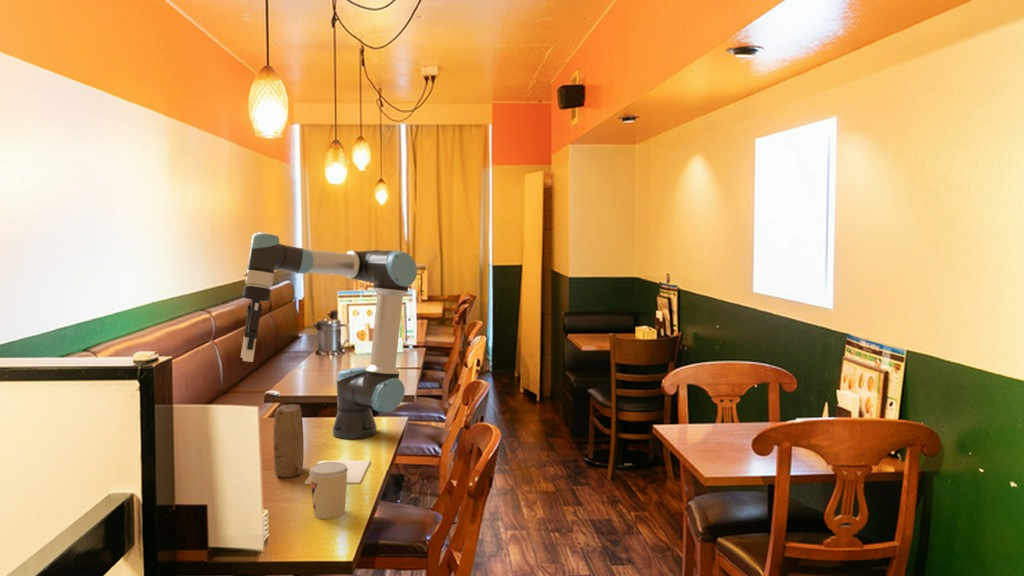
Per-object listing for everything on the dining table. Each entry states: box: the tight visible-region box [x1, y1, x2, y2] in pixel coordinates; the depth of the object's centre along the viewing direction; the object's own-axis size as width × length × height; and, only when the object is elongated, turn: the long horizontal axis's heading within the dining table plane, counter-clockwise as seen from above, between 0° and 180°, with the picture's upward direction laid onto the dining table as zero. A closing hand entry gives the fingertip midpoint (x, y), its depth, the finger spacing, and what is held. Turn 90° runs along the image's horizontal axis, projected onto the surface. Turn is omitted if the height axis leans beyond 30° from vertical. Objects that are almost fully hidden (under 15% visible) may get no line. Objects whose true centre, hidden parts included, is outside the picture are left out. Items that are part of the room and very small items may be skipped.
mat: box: [303, 459, 371, 485], centre depth 225 cm, size 20×16×1 cm
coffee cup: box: [309, 462, 348, 520], centre depth 193 cm, size 9×9×12 cm
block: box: [273, 403, 305, 478], centre depth 224 cm, size 11×8×20 cm
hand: (246, 359), depth 218 cm, fingers open, 13 cm apart
